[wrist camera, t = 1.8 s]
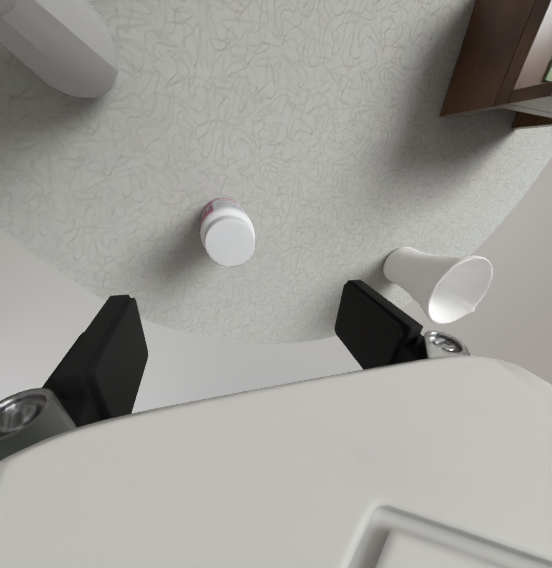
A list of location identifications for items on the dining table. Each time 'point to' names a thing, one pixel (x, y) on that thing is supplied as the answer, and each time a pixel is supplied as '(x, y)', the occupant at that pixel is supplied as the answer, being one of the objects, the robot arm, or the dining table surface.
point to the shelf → (505, 63)
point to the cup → (440, 281)
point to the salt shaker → (61, 44)
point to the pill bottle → (227, 233)
